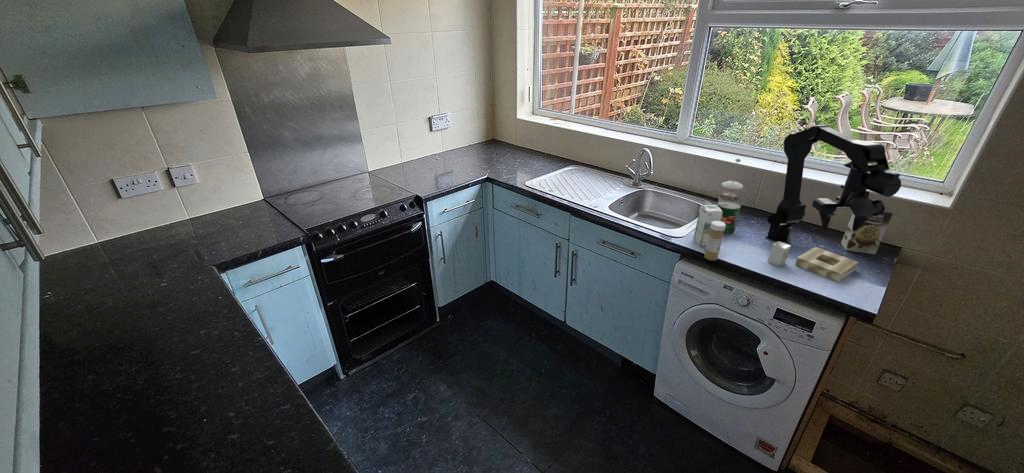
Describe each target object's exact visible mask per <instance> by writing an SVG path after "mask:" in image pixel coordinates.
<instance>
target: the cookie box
mask: <svg viewBox="0 0 1024 473" xmlns="http://www.w3.org/2000/svg"><path fill="white" fill-rule="evenodd" d="M892 217H893V212H892V211H891V210H890V209H889V208H888V207H886V206H885V211H884V213H883V214H878V216H874V217H870V218H869V219H867V220H866V221H865V222H864V223H863V224H862V225H861V226H860V227H859V228H858V229H857V230H856V231H853V230H852V227H853V222H854V218H855V215H854V214H853V213H852V214H851V217H850V219H849V222H848V224H847V227H846V229H845V232H844V234H843V237H842V240H841V241H840V243H841V245H842V247H843V249H844V250H845V251H847V252H848V251H849V252H856V253H863V254H871V255H876V254H877V251H878V249H879V247H880V245H881V242H882V240H883V237H884V235H885V232H886V230H887V228H888V225H889V223H890V222H891V221H890V220H891V219H892Z"/></svg>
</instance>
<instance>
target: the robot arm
mask: <svg viewBox="0 0 1024 473" xmlns="http://www.w3.org/2000/svg"><path fill="white" fill-rule="evenodd" d="M820 141H821V142H823V143H825V144H827V145H829V146H832V147H833V148H835V149H838V150H839V151H842V152H843V153H844V154H845V156H846V158H848V159H849V160H850V161H849V162H847V163H844V167H846V168H847V169H849V171H848V174H847V177H846V180H845V182H844V184H840V187H839V188H840V189H842V190H841V192H840V196H836V198H835V200H836V201H838V202H834V201H833V200H831V199H829V198H824V197H823V198H822V197H821V198H820V197H819V198H818V197H817V198H815V199H813V202H812V204H811V206H812V208H814V209H815V210H817V211H818V214H819V217H820V221H821V228H822V230H823V231H827V229H828V227H829V224H830V222H831V218H832V217H833V216H835V215H836V213H835V212H836V211H837V210H838V209H839V210H840V209H841V210H843V209H844V210H851V211H852V214H854V215H855V218H854V222H853V227H852V230H853V231H856V230H857V229H858V228H859V227H860V226H861V225H862V224H863V223H864V222H865V221H866V220H867V219H869V218H870V217H874V216H878V214H883V213H884V211H885V207H886V206H885V204H884V202H883V200H882V199H872V198H871V199H870V198H869V195H870V192H873V193H875V194H878V195H880V196H884V197H887V198H890V197H893V196H895V195H896V194H897V193H898V192H899V191H900V189H901V187H902V180H901V178H899V177H900V175H901V174H900V173H899V172H893V171H890V167H889V163H888V159H887V156H886V147H885V146H884V145H883V144H881V143H877V142H873V141H867V140H860V139H856V138H854V137H852V136H849V135H847V134H845V133H842V132H840V130H839V131H838V130H837V129H834V128H831V127H830V126H829V125H827V124H817V125H816V124H815V125H813V126H810V127H809V128H807V129H803V130H800V131H798V132H795V133H794V132H793V133H789V134H788V135H787V136H786V137H784V139H783V152H784V154H785V156H786V158H787V164H786V174H785V182H784V191H783V198H782V199H781V201H780V202H779V204H778V205H777V208H776V212H775V213H772V214H770V215H769V216H767V223H769V229H768V232H767V235H765V236H764V237H765V238H766V239H769V240H771V241H773V242H778V241H780V242H782V243H786V242H787V241H789V240H791V237H792V234H793V231H794V230H793V229H792V228H793V226H796V225H798V223H799V222H801V220H803V218H804V216H806V207H807V206H806V204H803V203H802V202H801V199H800V198H801V190H802V183H803V182H802V181H803V176H804V175H803V174H804V166H805V160H806V158H807V157H808V155H809V154H810V152H811V151H812V147H813V144H816V143H818V142H820Z"/></svg>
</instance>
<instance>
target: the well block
mask: <svg viewBox="0 0 1024 473" xmlns="http://www.w3.org/2000/svg"><path fill="white" fill-rule="evenodd" d="M858 263H859V261H856V260H854V259H851V258H848V257H846V256H842V255H840V254H837V253H835V252H831V251H829V250H825V249H822V248H820V247H817V246H815V247H812V248H811V249H810V250H807V251H806V252H805V253H802V254H801V255H799V256H797V258H796V261H795V264H794V266H796V267H799V268H801V269H804V270H806V271H809V272H811V273H814V274H816V275H819V276H821V277H824V278H826V279H829V280H831V281H835V282H837V283H839V282H840V281H842V280H843V279H845V278H846V277H847V276H849V275H850V274H851V273H853V272H854V271H856V269H857V266H858Z"/></svg>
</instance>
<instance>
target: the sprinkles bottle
mask: <svg viewBox="0 0 1024 473" xmlns="http://www.w3.org/2000/svg"><path fill="white" fill-rule="evenodd" d="M725 226H726V224H725V223H723V222H721V221H713V222H711V226H710V233H709V237H708V241H707V245H706V246H705V252H704V256H703V257H704V258H705V259H706V260H708V261H717V260H718V258H719V253H720V250H721V246H722V240H723V237H724V234H723V233H724V230H725Z"/></svg>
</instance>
